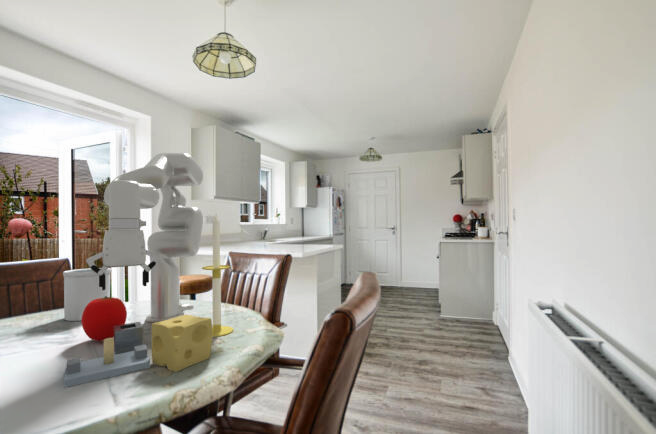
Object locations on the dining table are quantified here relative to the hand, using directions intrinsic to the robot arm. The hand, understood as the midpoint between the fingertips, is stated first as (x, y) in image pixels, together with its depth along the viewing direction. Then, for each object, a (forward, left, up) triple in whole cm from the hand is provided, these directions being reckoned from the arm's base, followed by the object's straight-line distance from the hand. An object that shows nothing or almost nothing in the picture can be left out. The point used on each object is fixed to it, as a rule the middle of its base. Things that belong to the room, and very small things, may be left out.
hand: (124, 287), depth 93 cm
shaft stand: (+4, +13, -17) cm, 22 cm away
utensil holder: (+8, -49, -17) cm, 52 cm away
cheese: (-11, +18, -17) cm, 27 cm away
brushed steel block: (-1, 0, -17) cm, 17 cm away
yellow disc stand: (-25, +1, -17) cm, 30 cm away
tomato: (+4, -13, -17) cm, 21 cm away
